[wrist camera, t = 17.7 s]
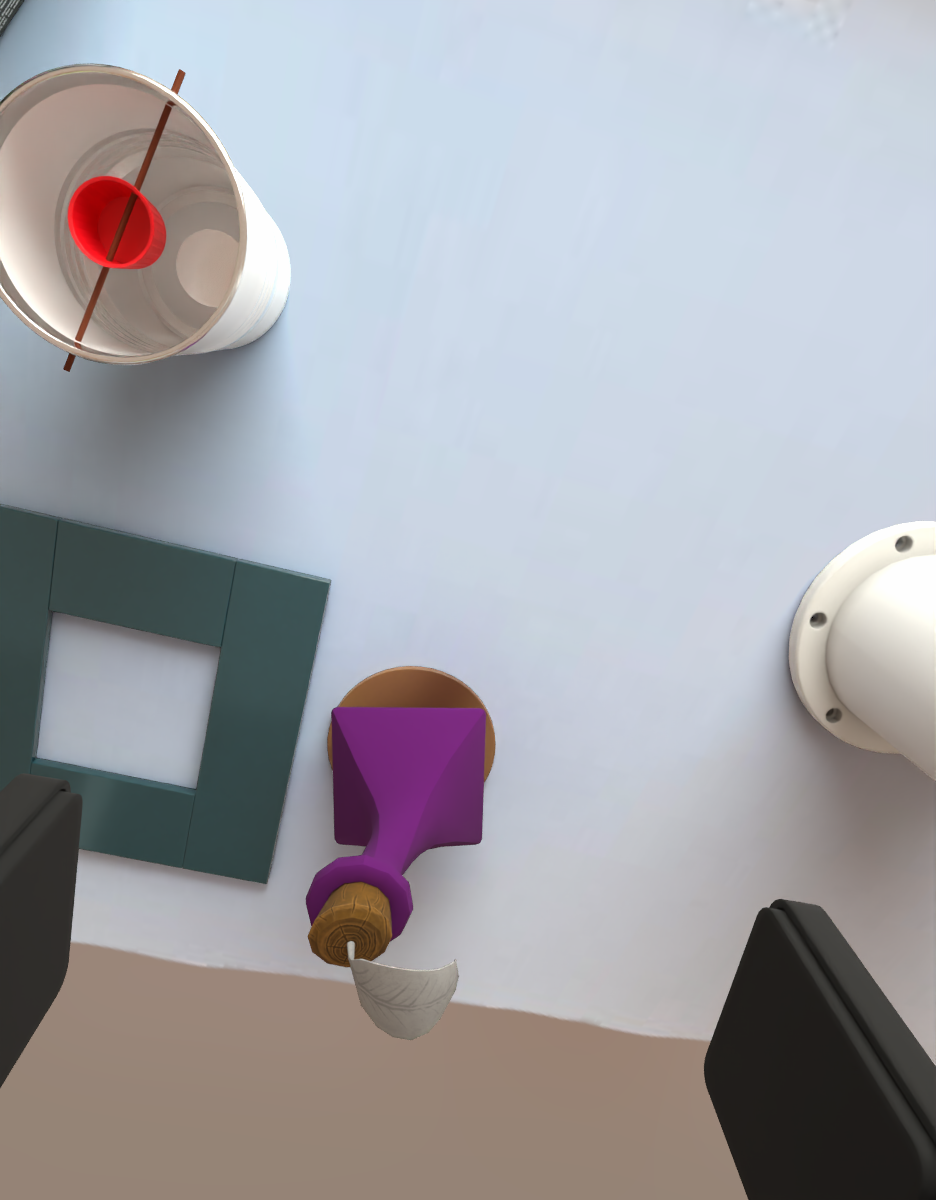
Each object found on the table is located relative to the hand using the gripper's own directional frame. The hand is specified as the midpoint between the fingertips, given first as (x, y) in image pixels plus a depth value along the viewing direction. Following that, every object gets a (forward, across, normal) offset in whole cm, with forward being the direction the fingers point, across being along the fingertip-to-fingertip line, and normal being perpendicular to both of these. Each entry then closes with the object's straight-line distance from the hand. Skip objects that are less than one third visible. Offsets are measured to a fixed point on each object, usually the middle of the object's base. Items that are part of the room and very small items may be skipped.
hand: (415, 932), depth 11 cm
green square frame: (+30, +14, +13) cm, 35 cm away
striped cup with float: (+30, +12, -9) cm, 34 cm away
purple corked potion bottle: (+30, -1, +12) cm, 32 cm away
